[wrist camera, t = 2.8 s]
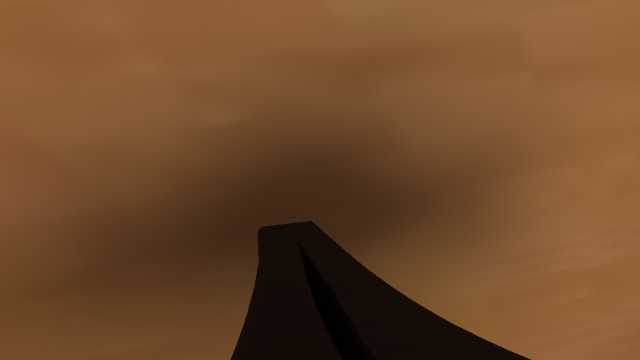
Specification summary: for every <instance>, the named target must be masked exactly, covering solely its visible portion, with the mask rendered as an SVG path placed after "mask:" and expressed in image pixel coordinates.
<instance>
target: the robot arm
mask: <svg viewBox="0 0 640 360" xmlns="http://www.w3.org/2000/svg"><path fill="white" fill-rule="evenodd" d="M258 254H259V264H258V270H257V275H256V281H255V286H254V290H253V294H252V298H251V301H250V305H249V309H248V313H247V316H246V319H245V322H244V325H243V328H242V331H241V334H240V337H239V339H238V342H237V345H236V347H235V350H234V353H233V355H232V357H231V360H531V359H528V358H526V357H524V356H521V355H519V354H516V353H514V352H511V351H509V350H507V349H504V348H502V347H500V346H498V345H496V344H493V343H491V342H489V341H487V340H485V339H482V338H480V337H478V336H476V335H474V334H472V333H470V332H468V331H466V330H464V329H462V328H460V327H458V326H456V325H454V324H453V323H451V322H449V321H447V320H445V319H443V318H441V317H440V316H438V315H436V314H434V313H433V312H431V311H429V310H428V309H426V308H424V307H423V306H421V305H419V304H418V303H416V302H414V301H413V300H411V299H409V298H408V297H406V296H405V295H403V294H402V293H400V292H399V291H397V290H396V289H394V288H393V287H391V286H390V285H389V284H387V283H386V282H384V281H383V280H382V279H380V278H379V277H377V276H376V275H375V274H373V273H372V272H371V271H369V270H368V269H367V268H366V267H364V266H363V265H362V264H361V263H359V262H358V261H357V260H356V259H355V258H353V257H352V256H351V255H350V254H348V253H347V252H346V251H345V250H344V249H343V248H342V247H340V246H339V245H338V244H337V243H336V242H335V241H334V240H332V239H331V238H330V237H329V236H328V235H327V234H326V233H325V232H323V231H322V230H321V229H320V228H319V227H318V226H317V225H316V224H314V223H313V222H312V221H307V222H299V223H290V224H282V225H274V226H266V227H262V228H261V229H260V230H259V231H258Z"/></svg>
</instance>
